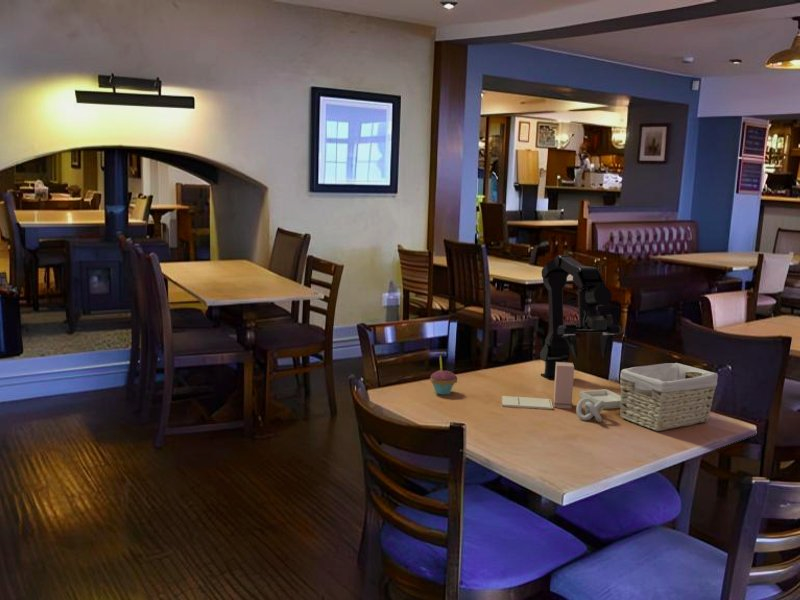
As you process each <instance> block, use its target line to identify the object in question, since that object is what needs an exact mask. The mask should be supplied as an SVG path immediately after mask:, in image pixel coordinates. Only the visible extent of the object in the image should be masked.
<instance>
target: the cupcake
mask: <svg viewBox="0 0 800 600" xmlns="http://www.w3.org/2000/svg"><path fill="white" fill-rule="evenodd" d="M430 382H431V383H432V386H433V388H434V391H435V392H434V393H436V394H437V395H443V396H444V395H449V394H451V392H452V389H453V386H454V385H455V384H456V383H457V382H458V377H457V375H456V374H455V373H453V372H452V371H449V370H443V359H442V356H441V354H439V370H436V371H435V372H433V373H431V375H430Z"/></svg>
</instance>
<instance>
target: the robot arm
mask: <svg viewBox="0 0 800 600" xmlns="http://www.w3.org/2000/svg"><path fill="white" fill-rule="evenodd" d="M568 276H572V281H573V283H574V284H575V285H576V286H578V289H577V290H576V291H575V293H576V295H577V299H578V310H577V311H576V314H577V315H578V323H577V326H576V324H570V325H569V324H566V325H565V324H564V304H563V303H564V302H563V300H564V299H563V298H564V297H563V289H564V288H565V286H566V284H567V282H568ZM541 277H542V283H543V285H544V287H545V288H546V289H547V293H548V295H547V297H548V326H549V331H548V334H547V336H546V337H545V339H544V345H543V347H542V348H541V350H540V352H539V357H540V358H539V359H541V360H542V361H544V373H540V376H541V377H544V378H545V379H547V380H550V381H551V380H555V368H556V362H569V359H570V355H571V353H572V355H573V357H574V359H577V358H578V354H579V353H578V341H577V340H578V336H579V335H578V334H579V333H581V334H584V333H602V335H600V336H599V338H600V351H601V358H606V355H607V353H608V349H609V347H610V343H611V341H612V339H613V338H615V337H617V336H618V334H621V333H622V331H621V330H622V329H621V326H620V325H619V324H613V315H612V314H610V313H608V314H607V313H605V314H603V315H601V310H599V309H598V307H600V306H605V305H608V304H609V303H610V302H611V300H612V296H613V295H612V292H611V290H610V289H609V288H608V287H606V282H605V280H604V279H603V277H602V273H601V272H600V271H599V269H598V267H594V266H587V265H583V264H582V263H580V262H579V261H577V260H576V259H575V258H573V257H572V255H571V256H570V255H569V254H559V255H556V256H555V257H554V258H553V259H551V260H550V261H548V262H545V264H544V266H543V267H542V270H541ZM576 333H578V334H576Z"/></svg>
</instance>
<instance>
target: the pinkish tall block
mask: <svg viewBox="0 0 800 600" xmlns="http://www.w3.org/2000/svg"><path fill="white" fill-rule="evenodd" d="M574 373H575V366H574V363H573V362H565V361H563V362H556V368H555V379H554V382H553V383H554V385H553V386H554V387H553V399H552V400H553V403H552V405H553V408H554V407H557V408H558V409H569V408H570V409H572V408H573V407H572V406H573V391H574V378H575V376H574V375H575V374H574ZM557 408H556V409H557Z"/></svg>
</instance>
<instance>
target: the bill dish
mask: <svg viewBox="0 0 800 600" xmlns="http://www.w3.org/2000/svg"><path fill="white" fill-rule="evenodd" d="M578 398H579V399H580V400H581V399H583V398H590V399H591V400H593V401H594V403H595V404H596V403H597V402H599V401H601V400H602V401H604V402H605V405H604V407H603V409H602V410H606V409H607V410H609V409H617V408H618V409H619V408H620V407H621V394H618V393H617V392H613V391H611V390H610V389H608V388H607V389H606V388H605V389H604V388H603V389H593V390H581V391H579V397H578ZM620 409H621V408H620Z"/></svg>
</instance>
